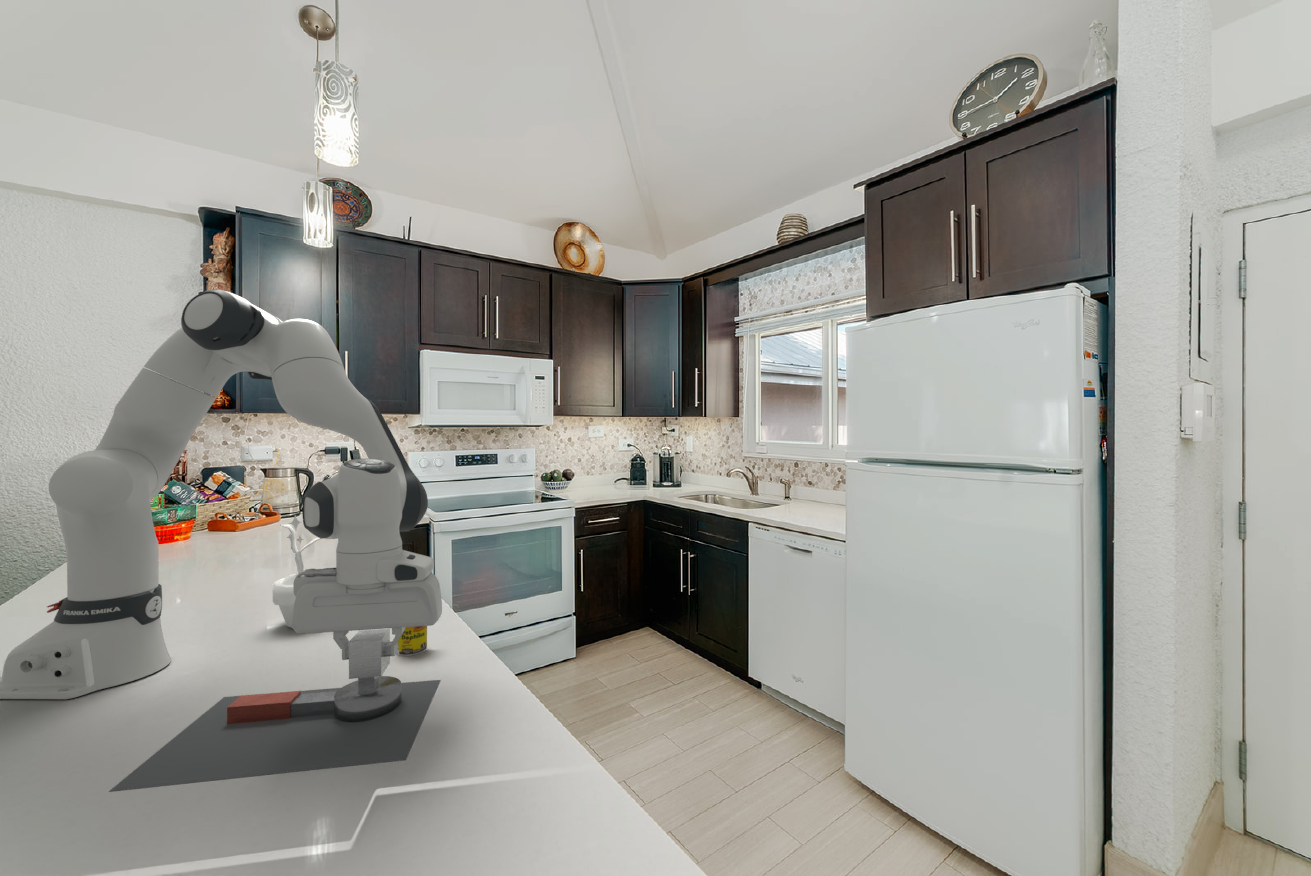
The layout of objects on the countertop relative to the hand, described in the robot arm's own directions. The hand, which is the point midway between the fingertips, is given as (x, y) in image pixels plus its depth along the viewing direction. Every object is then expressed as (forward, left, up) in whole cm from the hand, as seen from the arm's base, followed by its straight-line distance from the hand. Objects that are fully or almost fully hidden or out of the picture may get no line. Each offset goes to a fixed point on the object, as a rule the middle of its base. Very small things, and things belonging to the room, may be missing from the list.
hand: (370, 656), depth 80 cm
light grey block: (0, 0, -2) cm, 2 cm away
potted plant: (-25, +41, -8) cm, 49 cm away
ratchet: (-7, 0, -7) cm, 10 cm away
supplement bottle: (+1, +21, -8) cm, 22 cm away
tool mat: (-7, -4, -8) cm, 12 cm away
